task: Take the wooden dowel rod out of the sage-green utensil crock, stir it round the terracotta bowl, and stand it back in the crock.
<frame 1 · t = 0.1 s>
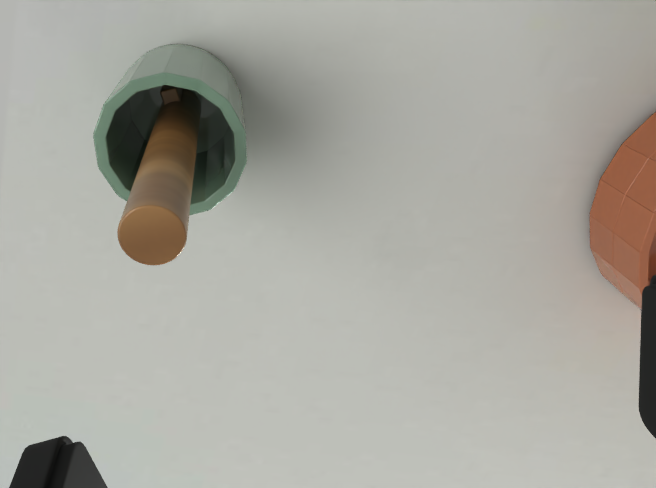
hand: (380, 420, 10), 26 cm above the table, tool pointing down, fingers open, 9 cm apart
wooden dowel rod: (181, 106, 33), point 1 cm above the table, touching crock
crock: (182, 104, 33), on the table
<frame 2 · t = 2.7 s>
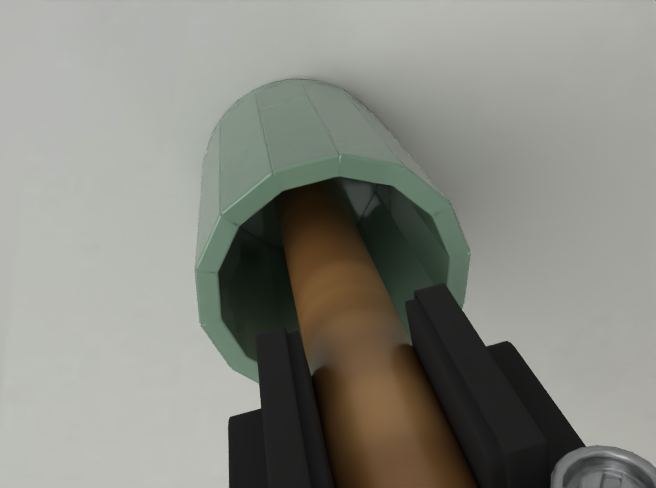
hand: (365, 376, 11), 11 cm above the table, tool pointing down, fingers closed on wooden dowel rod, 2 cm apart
wooden dowel rod: (299, 177, 21), point 1 cm above the table, touching crock, gripper
crock: (297, 171, 21), on the table
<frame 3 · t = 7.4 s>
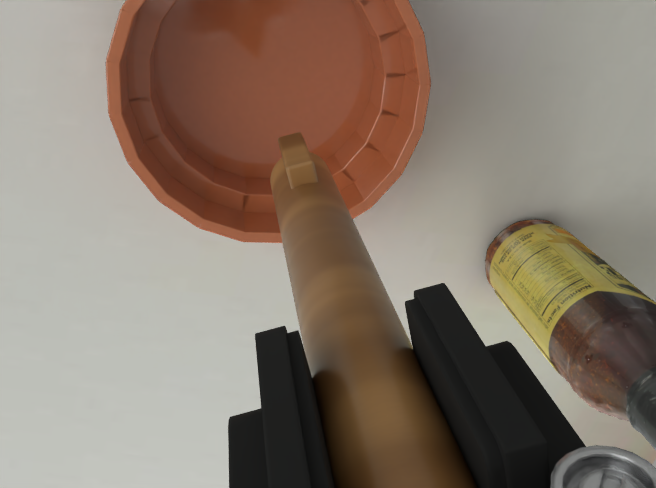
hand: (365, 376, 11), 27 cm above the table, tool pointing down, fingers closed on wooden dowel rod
sauce bottle: (520, 251, 43), on the table
bowl: (265, 73, 35), on the table
wooden dowel rod: (300, 179, 21), point 16 cm above the table, touching gripper
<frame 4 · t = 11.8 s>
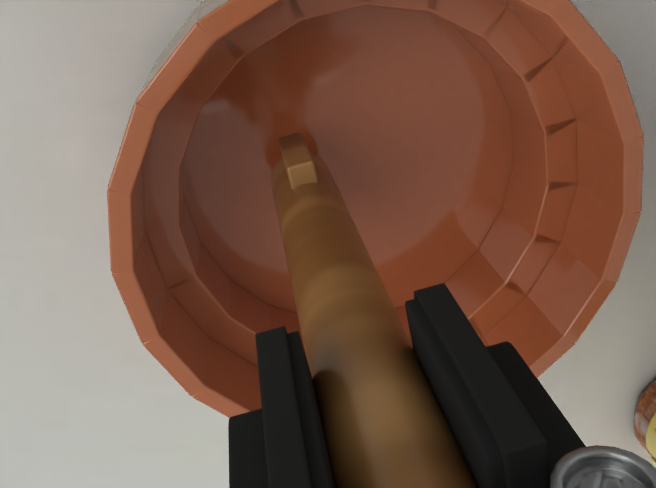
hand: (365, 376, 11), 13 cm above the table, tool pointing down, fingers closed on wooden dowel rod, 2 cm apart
bowl: (350, 171, 23), on the table
wooden dowel rod: (300, 179, 21), point 2 cm above the table, touching gripper
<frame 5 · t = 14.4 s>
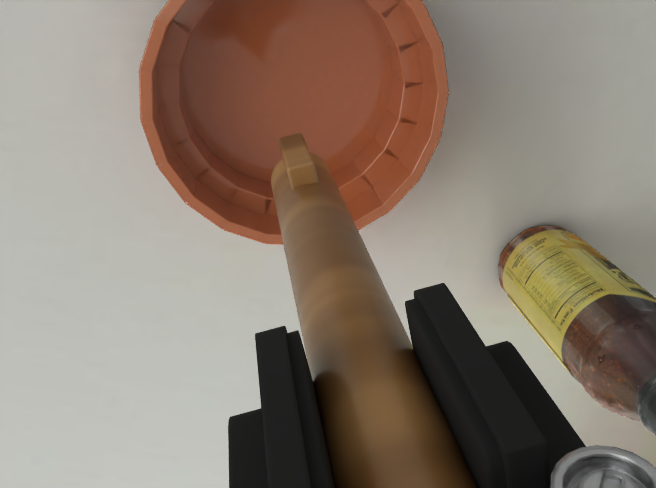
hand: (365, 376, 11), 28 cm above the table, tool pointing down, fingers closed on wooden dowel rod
sauce bottle: (533, 256, 44), on the table
bowl: (288, 82, 36), on the table
wooden dowel rod: (300, 180, 21), point 17 cm above the table, touching gripper
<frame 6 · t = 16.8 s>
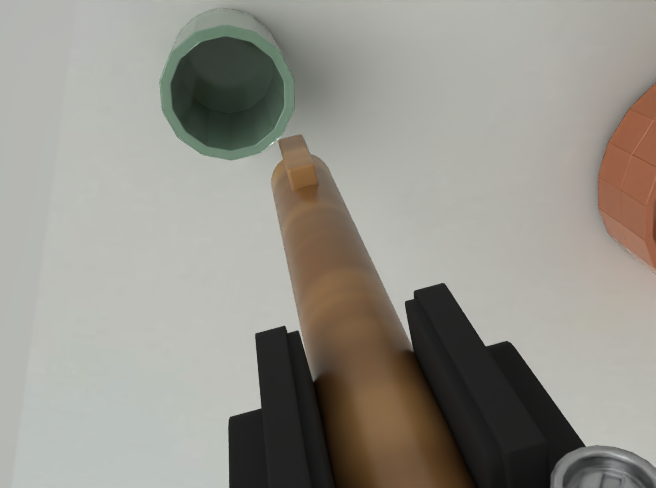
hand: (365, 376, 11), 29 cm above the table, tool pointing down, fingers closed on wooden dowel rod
wooden dowel rod: (301, 181, 21), point 18 cm above the table, touching gripper
crock: (227, 65, 36), on the table
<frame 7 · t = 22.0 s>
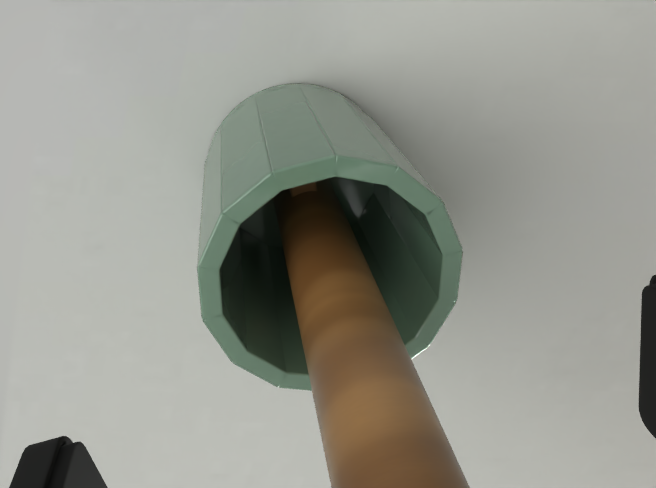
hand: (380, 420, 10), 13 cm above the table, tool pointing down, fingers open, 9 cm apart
wooden dowel rod: (300, 187, 21), point 1 cm above the table, touching crock
crock: (296, 173, 22), on the table
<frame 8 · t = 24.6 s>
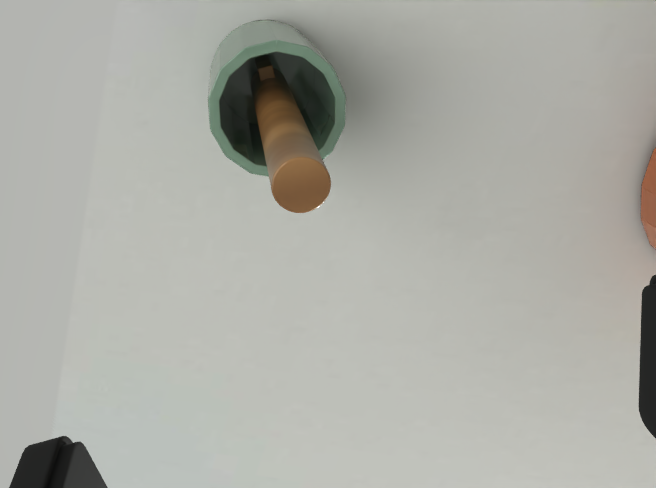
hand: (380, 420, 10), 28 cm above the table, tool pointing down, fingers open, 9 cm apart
wooden dowel rod: (268, 85, 35), point 1 cm above the table, touching crock
crock: (266, 77, 35), on the table
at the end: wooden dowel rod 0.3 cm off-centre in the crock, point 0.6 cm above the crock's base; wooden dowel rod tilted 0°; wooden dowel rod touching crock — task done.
